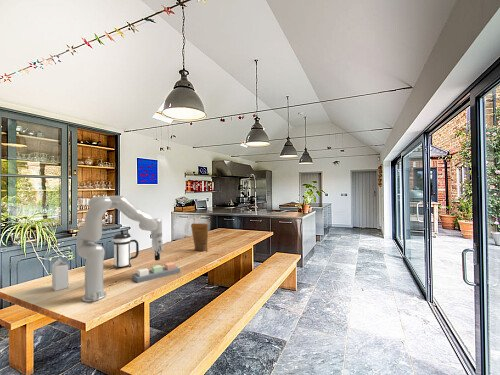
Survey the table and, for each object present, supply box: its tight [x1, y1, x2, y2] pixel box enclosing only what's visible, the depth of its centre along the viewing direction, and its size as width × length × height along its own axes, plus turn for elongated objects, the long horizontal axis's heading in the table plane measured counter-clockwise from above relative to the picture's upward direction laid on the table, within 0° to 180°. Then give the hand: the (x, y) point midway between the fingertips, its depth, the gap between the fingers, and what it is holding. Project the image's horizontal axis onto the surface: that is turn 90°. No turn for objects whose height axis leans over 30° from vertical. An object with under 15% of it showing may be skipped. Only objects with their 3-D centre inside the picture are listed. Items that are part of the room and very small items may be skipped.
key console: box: [131, 265, 181, 284], centre depth 189 cm, size 12×31×3 cm, turn 131°
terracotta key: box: [163, 261, 176, 270], centre depth 196 cm, size 6×6×5 cm
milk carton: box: [51, 257, 69, 292], centre depth 167 cm, size 7×7×19 cm
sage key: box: [150, 264, 163, 273], centre depth 189 cm, size 6×6×5 cm
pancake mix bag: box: [190, 222, 209, 252], centre depth 259 cm, size 7×19×28 cm, turn 65°
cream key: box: [136, 267, 150, 277], centre depth 182 cm, size 6×6×5 cm
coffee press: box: [111, 229, 140, 270], centre depth 211 cm, size 17×16×30 cm
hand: (157, 260), depth 189 cm, fingers closed
